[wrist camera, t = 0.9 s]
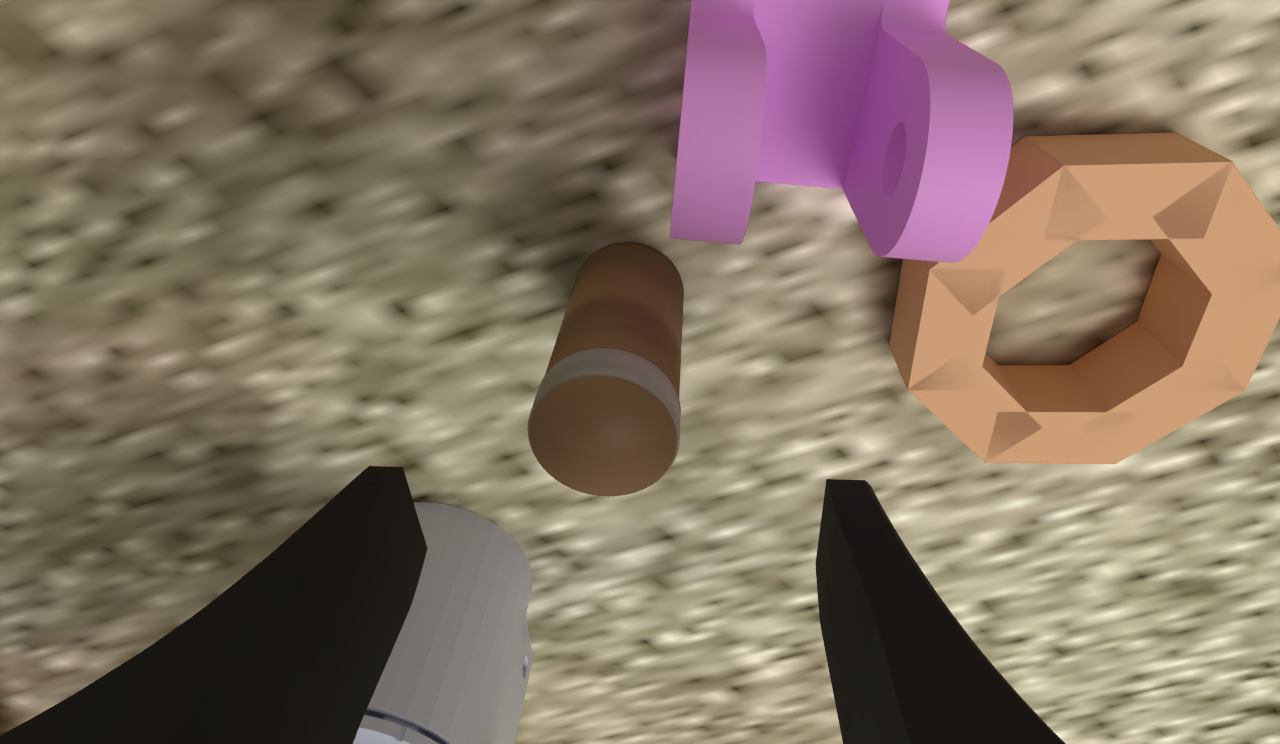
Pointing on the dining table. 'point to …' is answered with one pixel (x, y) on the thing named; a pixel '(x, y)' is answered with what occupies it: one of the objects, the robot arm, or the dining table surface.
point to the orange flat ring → (1134, 358)
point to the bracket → (842, 120)
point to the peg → (614, 376)
